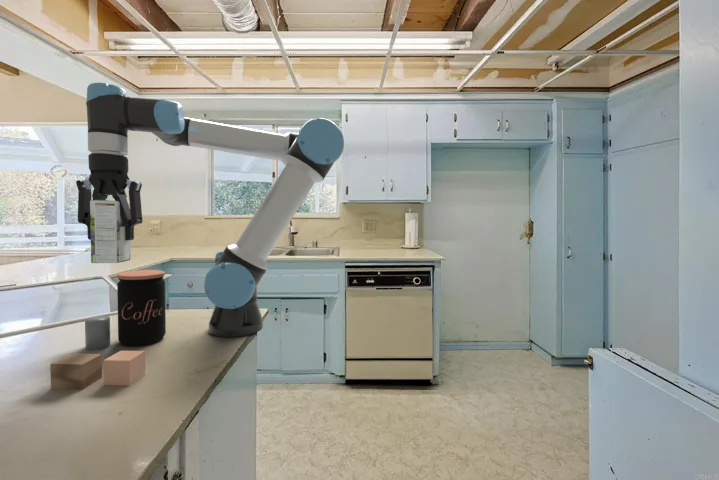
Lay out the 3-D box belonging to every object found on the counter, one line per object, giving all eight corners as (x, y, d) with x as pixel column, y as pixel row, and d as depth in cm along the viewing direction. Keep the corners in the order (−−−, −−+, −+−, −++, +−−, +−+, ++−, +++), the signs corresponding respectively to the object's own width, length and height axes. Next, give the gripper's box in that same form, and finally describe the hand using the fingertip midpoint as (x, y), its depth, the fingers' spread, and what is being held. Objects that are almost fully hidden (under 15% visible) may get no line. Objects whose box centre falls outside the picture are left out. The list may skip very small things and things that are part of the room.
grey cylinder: (115, 343, 90) (114, 316, 89) (100, 350, 85) (100, 322, 84) (95, 342, 90) (95, 316, 89) (80, 350, 85) (79, 321, 84)
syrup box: (106, 260, 85) (103, 200, 84) (131, 260, 86) (129, 201, 85) (90, 263, 79) (88, 199, 78) (118, 263, 80) (116, 199, 79)
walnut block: (102, 378, 71) (101, 354, 71) (82, 390, 66) (82, 364, 66) (72, 377, 71) (71, 353, 71) (51, 389, 66) (50, 363, 66)
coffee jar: (115, 350, 85) (113, 277, 84) (121, 336, 95) (120, 270, 94) (165, 344, 90) (164, 274, 89) (166, 331, 100) (165, 269, 98)
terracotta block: (145, 374, 73) (145, 351, 73) (129, 385, 68) (129, 360, 68) (121, 374, 73) (120, 350, 73) (103, 385, 68) (103, 360, 68)
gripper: (158, 158, 85) (160, 252, 87) (79, 156, 84) (82, 251, 86) (140, 152, 78) (143, 256, 79) (53, 150, 77) (57, 255, 78)
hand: (111, 253), depth 82 cm, fingers closed on syrup box, 6 cm apart
